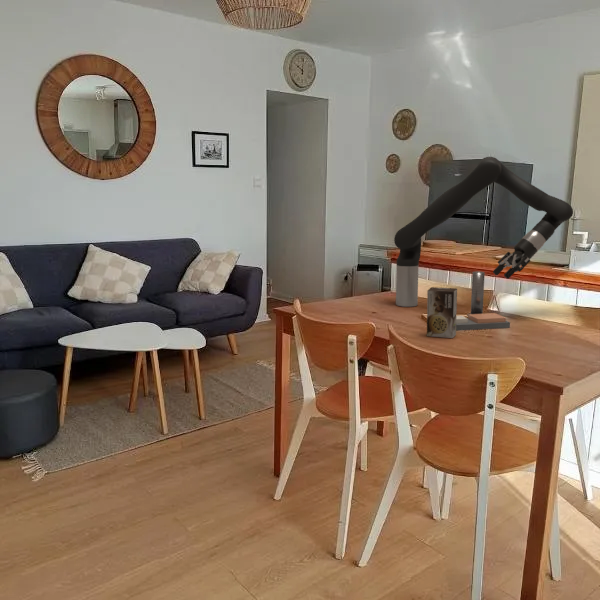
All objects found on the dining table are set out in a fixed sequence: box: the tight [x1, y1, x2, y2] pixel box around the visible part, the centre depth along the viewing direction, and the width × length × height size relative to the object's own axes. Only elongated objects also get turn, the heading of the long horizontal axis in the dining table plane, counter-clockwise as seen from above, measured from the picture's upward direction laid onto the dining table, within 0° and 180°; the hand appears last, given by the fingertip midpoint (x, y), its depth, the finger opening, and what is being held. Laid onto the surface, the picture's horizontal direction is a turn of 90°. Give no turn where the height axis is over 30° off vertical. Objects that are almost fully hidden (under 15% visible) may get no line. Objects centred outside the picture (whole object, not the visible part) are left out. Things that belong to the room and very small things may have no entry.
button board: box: [456, 317, 511, 332], centre depth 211 cm, size 10×22×2 cm, turn 99°
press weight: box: [466, 271, 486, 317], centre depth 221 cm, size 7×7×18 cm
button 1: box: [456, 315, 468, 324], centre depth 209 cm, size 5×5×2 cm
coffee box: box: [426, 286, 458, 339], centre depth 197 cm, size 9×6×16 cm
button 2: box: [467, 312, 507, 324], centre depth 211 cm, size 8×11×2 cm
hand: (500, 275), depth 221 cm, fingers open, 8 cm apart
